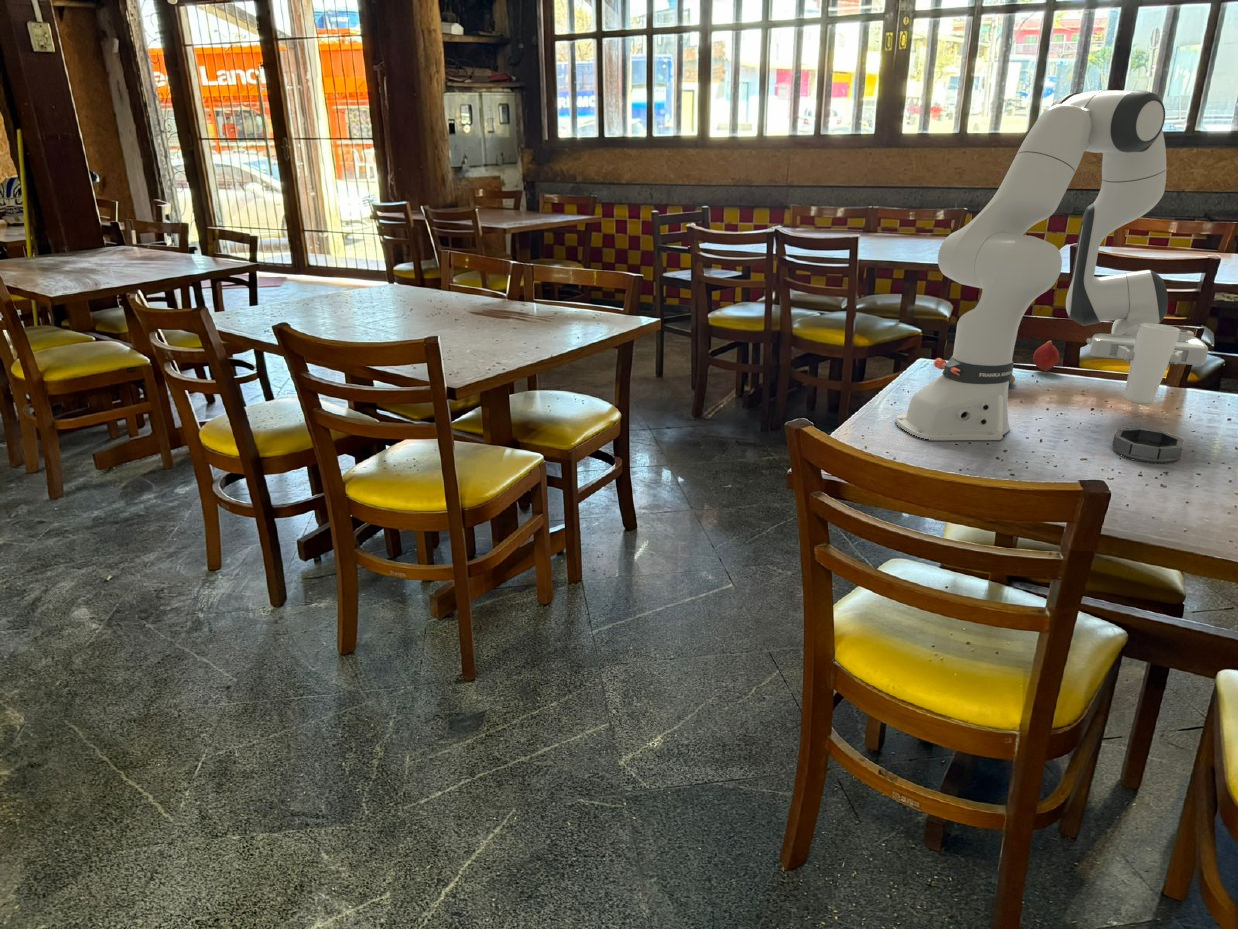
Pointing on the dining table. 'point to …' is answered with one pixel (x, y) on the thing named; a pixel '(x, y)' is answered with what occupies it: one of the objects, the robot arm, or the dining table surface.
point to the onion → (1046, 356)
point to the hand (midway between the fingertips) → (1152, 358)
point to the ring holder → (1147, 445)
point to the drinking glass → (1150, 361)
